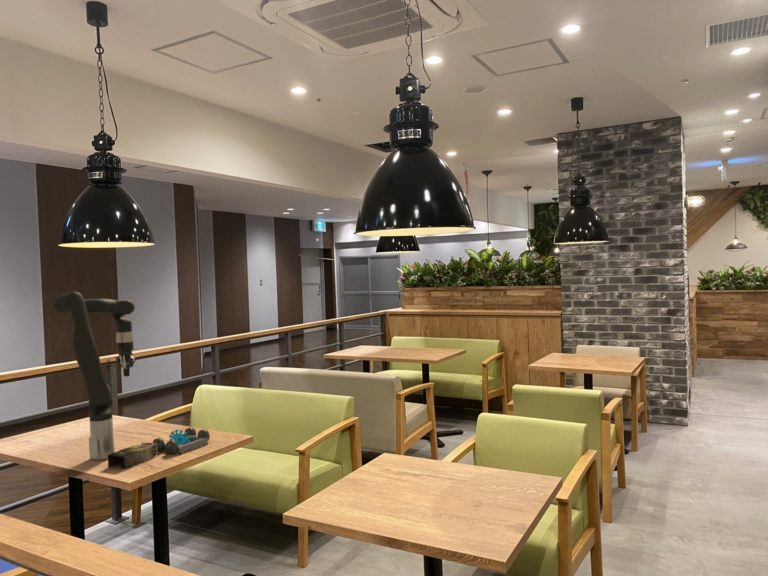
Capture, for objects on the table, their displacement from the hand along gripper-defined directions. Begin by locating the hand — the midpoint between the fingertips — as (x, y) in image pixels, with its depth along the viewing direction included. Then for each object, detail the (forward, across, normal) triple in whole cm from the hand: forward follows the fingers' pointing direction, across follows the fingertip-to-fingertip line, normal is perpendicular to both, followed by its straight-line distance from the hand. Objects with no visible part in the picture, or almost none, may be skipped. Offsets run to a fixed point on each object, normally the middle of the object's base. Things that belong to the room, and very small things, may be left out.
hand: (126, 376), depth 284 cm
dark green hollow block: (+32, +30, -20) cm, 48 cm away
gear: (+32, +33, +3) cm, 46 cm away
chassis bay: (+32, +34, +3) cm, 46 cm away
